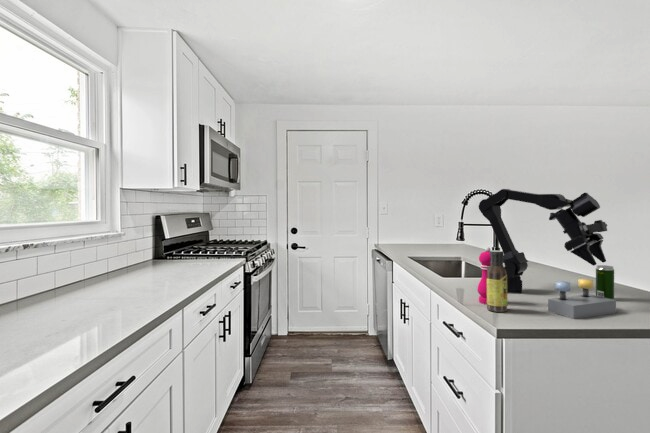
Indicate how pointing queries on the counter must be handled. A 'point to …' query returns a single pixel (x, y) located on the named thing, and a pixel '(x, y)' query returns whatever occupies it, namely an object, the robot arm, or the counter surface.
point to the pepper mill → (484, 275)
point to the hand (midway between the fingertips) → (600, 263)
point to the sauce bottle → (496, 283)
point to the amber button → (586, 286)
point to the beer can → (605, 281)
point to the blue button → (562, 288)
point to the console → (582, 306)
